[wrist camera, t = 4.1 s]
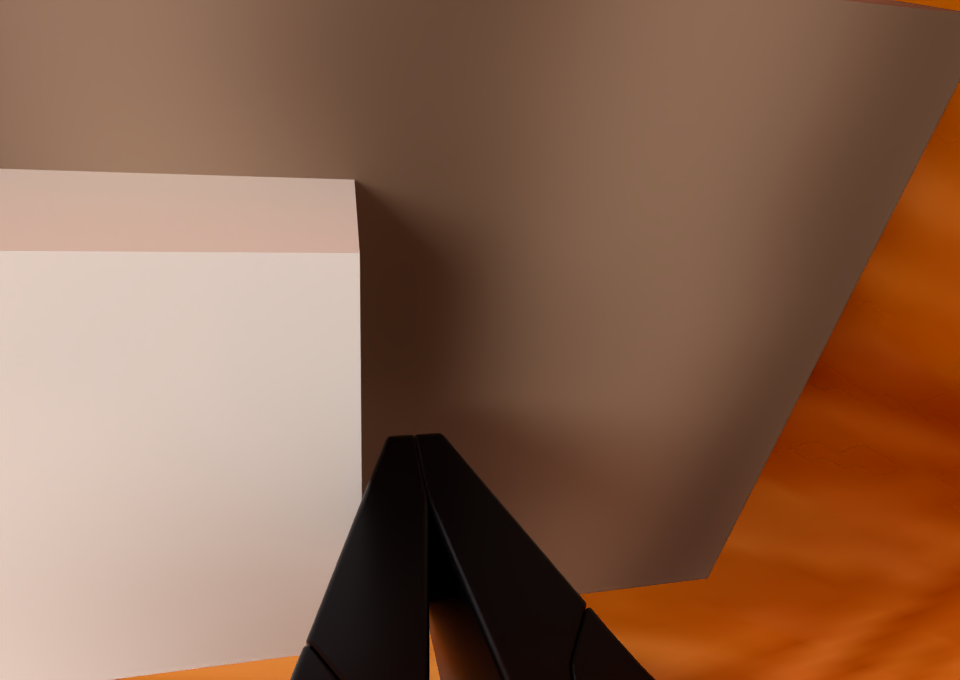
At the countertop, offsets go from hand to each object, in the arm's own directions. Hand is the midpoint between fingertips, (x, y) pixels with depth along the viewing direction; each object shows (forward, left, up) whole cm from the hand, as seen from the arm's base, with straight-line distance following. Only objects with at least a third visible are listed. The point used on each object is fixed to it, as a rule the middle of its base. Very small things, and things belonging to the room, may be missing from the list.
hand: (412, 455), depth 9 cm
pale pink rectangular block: (+3, 0, -1) cm, 3 cm away
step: (-1, 0, -4) cm, 4 cm away
